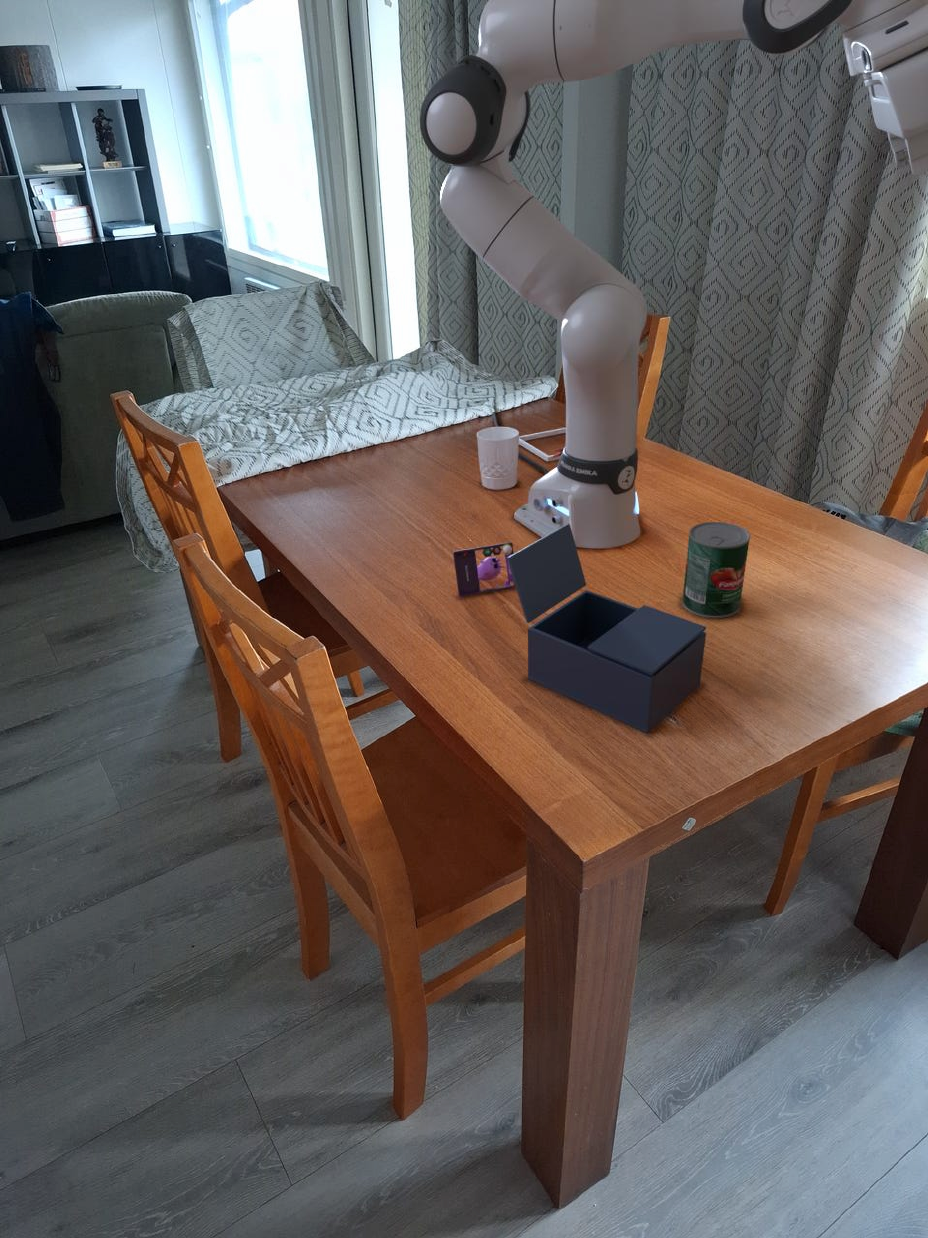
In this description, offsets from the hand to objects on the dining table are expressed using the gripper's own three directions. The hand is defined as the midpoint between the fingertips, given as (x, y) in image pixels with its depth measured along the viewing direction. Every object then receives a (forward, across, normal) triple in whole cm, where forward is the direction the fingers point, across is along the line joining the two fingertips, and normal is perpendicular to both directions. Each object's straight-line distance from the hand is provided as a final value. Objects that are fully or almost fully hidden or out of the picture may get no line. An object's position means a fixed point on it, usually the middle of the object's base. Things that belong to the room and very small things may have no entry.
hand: (913, 168), depth 98 cm
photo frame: (+33, -47, -64) cm, 86 cm away
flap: (+22, +34, -50) cm, 64 cm away
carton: (+36, +39, -46) cm, 71 cm away
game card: (+29, +18, -66) cm, 75 cm away
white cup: (+28, -23, -73) cm, 82 cm away
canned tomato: (+42, +18, -36) cm, 58 cm away
